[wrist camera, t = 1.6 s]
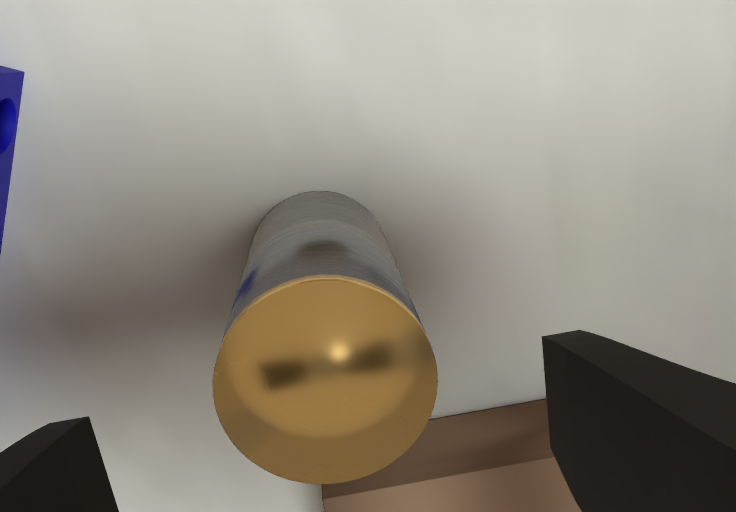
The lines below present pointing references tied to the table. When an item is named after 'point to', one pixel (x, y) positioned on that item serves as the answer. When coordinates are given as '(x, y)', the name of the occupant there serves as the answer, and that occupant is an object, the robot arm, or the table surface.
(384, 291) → the peg
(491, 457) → the dock plate
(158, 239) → the table surface
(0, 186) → the blue cradle block
